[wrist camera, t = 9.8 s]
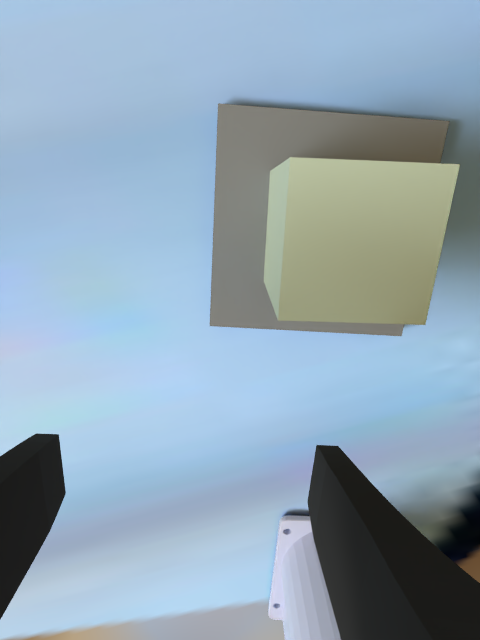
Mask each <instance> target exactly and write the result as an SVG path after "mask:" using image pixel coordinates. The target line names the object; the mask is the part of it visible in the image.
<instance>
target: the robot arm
mask: <svg viewBox="0 0 480 640" xmlns="http://www.w3.org/2000/svg"><path fill="white" fill-rule="evenodd" d="M64 496H65V484H64V476H63V467H62V459H61V451H60V442H59V435H57V434H35V435H33V436H31V437H30V438H28V439H26V440H25V441H23V442H22V443H20V444H19V445H17V446H15V447H14V448H12V449H11V450H9V451H8V452H6V453H5V454H3V455H2V456H0V619H1V617H2V616H3V614H4V612H5V610H6V608H7V607H8V605H9V603H10V601H11V600H12V598H13V596H14V594H15V593H16V591H17V589H18V587H19V585H20V584H21V582H22V580H23V578H24V577H25V575H26V573H27V571H28V570H29V568H30V566H31V564H32V562H33V561H34V559H35V557H36V555H37V553H38V552H39V550H40V548H41V546H42V544H43V543H44V541H45V539H46V537H47V535H48V533H49V532H50V529H51V527H52V525H53V523H54V520H55V518H56V516H57V513H58V511H59V508H60V506H61V503H62V501H63V498H64ZM308 508H309V514H310V516H289V515H287V516H283V517H282V518H281V519H280V522H279V530H278V537H277V545H276V553H275V561H274V568H273V576H272V584H271V592H270V599H269V607H268V614H269V617H270V618H271V619H274V620H283V627H284V636H285V640H480V583H479V582H477V581H476V580H475V579H473V578H472V577H471V576H470V575H469V574H467V573H466V572H465V571H464V570H463V569H461V568H460V567H459V566H458V565H457V564H456V563H454V562H453V561H452V560H451V559H450V558H448V557H447V556H446V555H445V554H444V553H442V552H441V551H440V550H439V549H438V548H437V547H436V546H434V545H433V544H432V543H431V542H430V541H429V540H428V539H427V538H426V537H425V536H423V535H422V534H421V533H420V532H419V531H418V530H417V529H416V528H415V527H414V526H413V525H412V524H411V523H410V522H409V521H408V520H407V519H406V518H405V517H404V516H403V515H402V514H401V513H400V512H399V511H398V510H397V509H396V508H395V507H394V506H393V505H392V504H391V503H390V502H389V501H388V500H387V499H386V498H385V497H384V496H383V495H382V494H381V493H380V492H379V491H378V490H377V489H376V488H375V487H374V486H373V484H372V483H371V482H370V481H369V480H368V479H367V478H366V477H365V476H364V475H363V473H362V472H361V471H360V470H359V469H358V468H357V467H356V466H355V465H354V463H353V462H352V461H351V460H350V459H349V458H348V457H347V456H346V454H345V453H344V452H343V451H342V450H341V449H340V448H339V447H338V446H325V445H317V446H316V452H315V458H314V465H313V471H312V477H311V484H310V490H309V496H308ZM285 529H286V530H285Z"/></svg>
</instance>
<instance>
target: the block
mask: <svg viewBox="0 0 480 640" xmlns="http://www.w3.org/2000/svg"><path fill="white" fill-rule="evenodd" d="M459 166H460V164H440V163H416V162H392V161H369V160H345V159H321V158H298V157H290V158H288V159H287V160H285V161H284V162H283V163H281V164H280V165H278V166H277V167H275V168H274V169H272V170H271V171H270V182H269V199H268V215H267V232H266V249H265V266H264V283H265V286H266V289H267V291H268V294H269V297H270V300H271V303H272V305H273V308H274V311H275V314H276V316H277V319H278V321H312V322H346V323H380V324H415V325H425V323H426V319H427V314H428V309H429V305H430V300H431V296H432V291H433V286H434V282H435V277H436V272H437V268H438V263H439V259H440V254H441V249H442V245H443V240H444V236H445V231H446V226H447V222H448V217H449V212H450V208H451V203H452V199H453V194H454V189H455V185H456V180H457V176H458V171H459Z"/></svg>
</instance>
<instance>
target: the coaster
mask: <svg viewBox="0 0 480 640" xmlns="http://www.w3.org/2000/svg"><path fill="white" fill-rule="evenodd" d="M448 125H449V121H441V120H427V119H414V118H401V117H388V116H375V115H362V114H348V113H335V112H322V111H309V110H296V109H283V108H269V107H256V106H243V105H230V104H218V123H217V149H216V176H215V202H214V229H213V255H212V281H211V308H210V326H220V327H239V328H258V329H277V330H296V331H315V332H333V333H352V334H371V335H390V336H401V335H402V331H403V327H404V324H380V323H346V322H312V321H278V319H277V316H276V314H275V311H274V308H273V305H272V303H271V300H270V297H269V294H268V291H267V289H266V286H265V283H264V266H265V249H266V232H267V215H268V199H269V182H270V171H271V170H272V169H274V168H275V167H277V166H278V165H280V164H281V163H283V162H284V161H285V160H287V159H288V158H290V157H298V158H321V159H345V160H369V161H392V162H416V163H440V161H441V157H442V152H443V148H444V143H445V139H446V134H447V130H448Z"/></svg>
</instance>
